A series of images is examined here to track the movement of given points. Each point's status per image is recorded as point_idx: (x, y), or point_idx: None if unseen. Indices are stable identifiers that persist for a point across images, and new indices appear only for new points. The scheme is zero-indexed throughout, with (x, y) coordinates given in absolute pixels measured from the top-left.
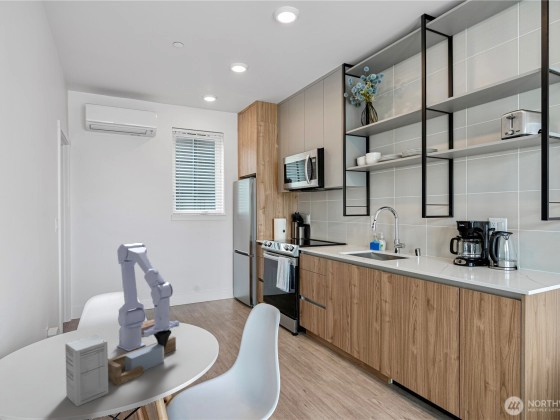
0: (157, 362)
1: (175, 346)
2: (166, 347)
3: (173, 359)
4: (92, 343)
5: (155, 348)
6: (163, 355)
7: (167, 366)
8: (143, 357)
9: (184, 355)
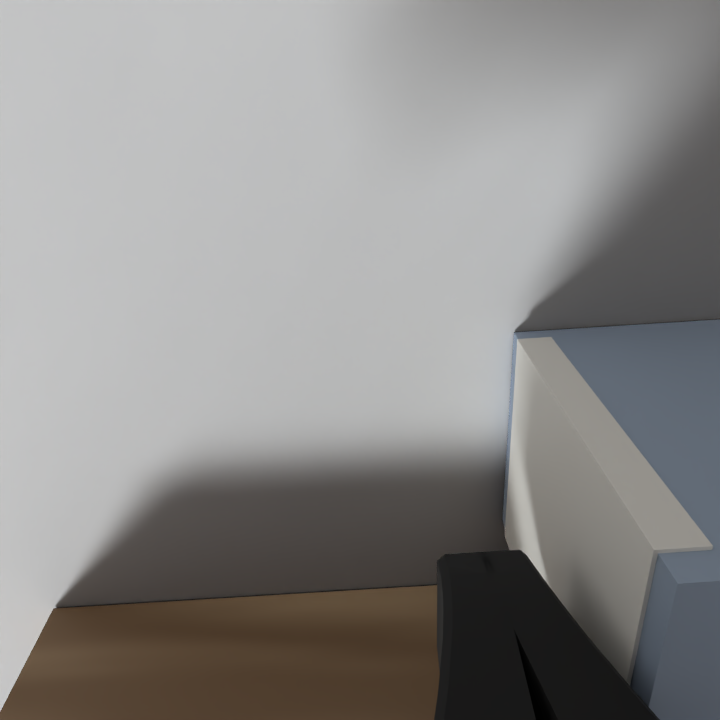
0: (689, 338)
1: (38, 652)
2: (239, 685)
3: (321, 276)
4: None
5: None
6: (572, 396)
7: (629, 61)
8: None
9: (35, 259)
